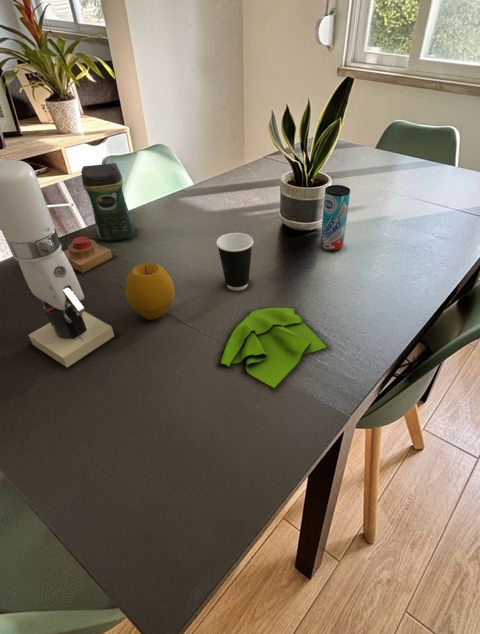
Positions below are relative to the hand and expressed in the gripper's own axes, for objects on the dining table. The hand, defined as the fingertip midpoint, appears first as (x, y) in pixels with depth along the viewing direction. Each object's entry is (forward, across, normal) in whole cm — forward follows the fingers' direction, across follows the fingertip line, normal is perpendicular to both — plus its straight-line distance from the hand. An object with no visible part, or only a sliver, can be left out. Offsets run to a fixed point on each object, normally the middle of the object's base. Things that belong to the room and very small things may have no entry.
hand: (69, 328), depth 82 cm
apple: (+3, -7, -15) cm, 17 cm away
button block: (+3, +24, -21) cm, 32 cm away
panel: (+3, 0, 0) cm, 3 cm away
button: (0, +24, -21) cm, 32 cm away
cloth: (+3, -32, -21) cm, 38 cm away
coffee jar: (+3, +28, -34) cm, 44 cm away
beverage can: (+3, -23, -62) cm, 66 cm away
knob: (+1, 0, 0) cm, 1 cm away
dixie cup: (+3, -14, -34) cm, 37 cm away
